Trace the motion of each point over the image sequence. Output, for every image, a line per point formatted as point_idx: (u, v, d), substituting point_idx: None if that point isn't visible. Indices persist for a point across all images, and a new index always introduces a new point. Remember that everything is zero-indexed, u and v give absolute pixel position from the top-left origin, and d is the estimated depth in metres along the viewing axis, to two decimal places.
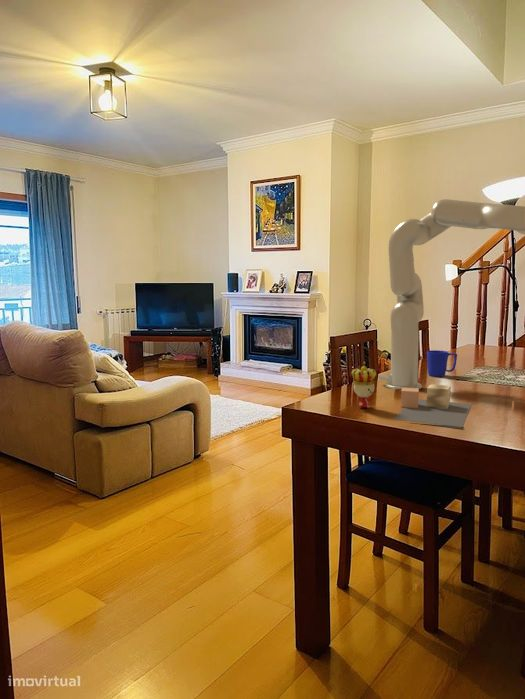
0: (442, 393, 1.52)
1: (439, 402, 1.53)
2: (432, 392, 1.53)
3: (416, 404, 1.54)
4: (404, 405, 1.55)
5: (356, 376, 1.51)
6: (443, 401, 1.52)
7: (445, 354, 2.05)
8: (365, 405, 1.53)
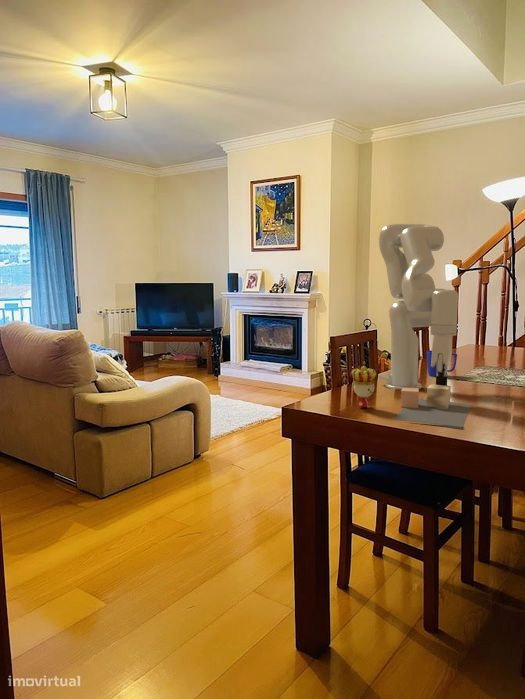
0: (442, 393, 1.52)
1: (439, 402, 1.53)
2: (432, 392, 1.53)
3: (416, 404, 1.54)
4: (404, 405, 1.55)
5: (356, 376, 1.51)
6: (443, 401, 1.52)
7: None
8: (365, 405, 1.53)
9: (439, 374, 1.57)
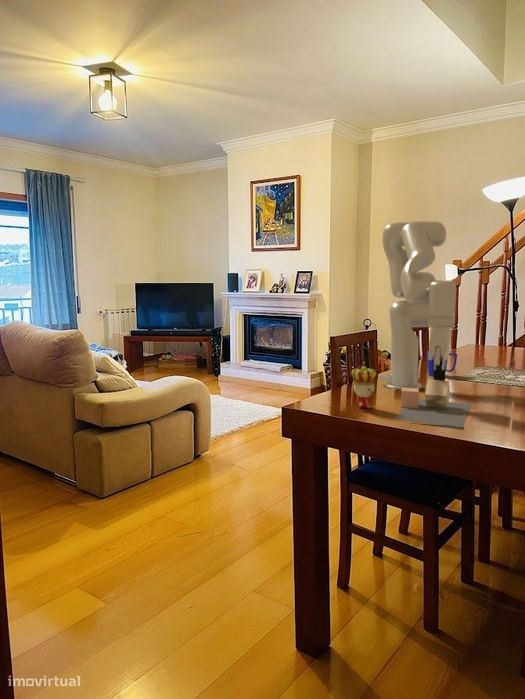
0: (441, 398, 1.50)
1: (438, 404, 1.52)
2: (430, 397, 1.51)
3: (416, 404, 1.54)
4: (404, 405, 1.55)
5: (356, 376, 1.51)
6: (442, 403, 1.51)
7: None
8: (365, 405, 1.53)
9: (437, 368, 1.53)
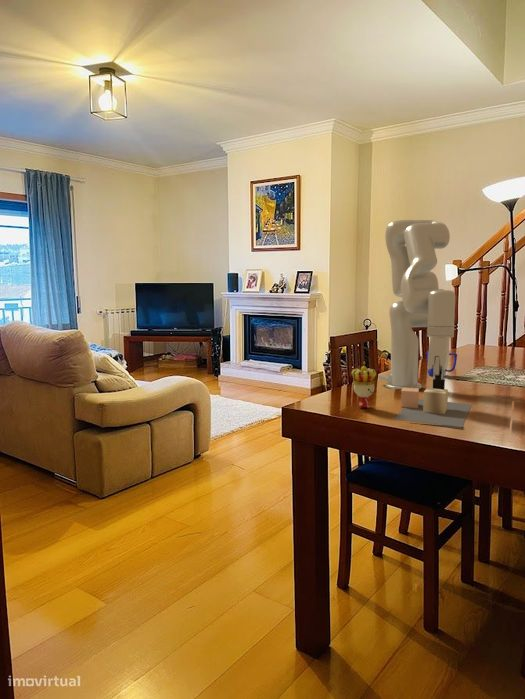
0: None
1: None
2: None
3: (416, 404, 1.54)
4: (404, 405, 1.55)
5: (356, 376, 1.51)
6: None
7: None
8: (365, 405, 1.53)
9: (436, 377, 1.52)
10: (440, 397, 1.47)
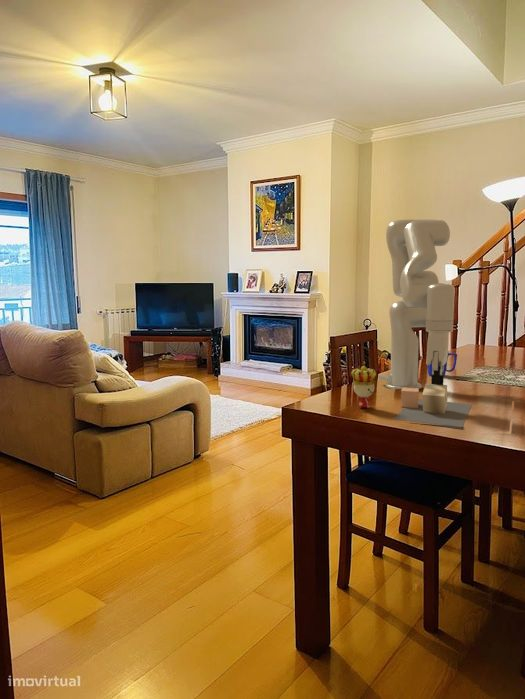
0: None
1: None
2: None
3: (416, 404, 1.54)
4: (404, 405, 1.55)
5: (356, 376, 1.51)
6: None
7: None
8: (365, 405, 1.53)
9: (435, 373, 1.49)
10: (439, 399, 1.45)
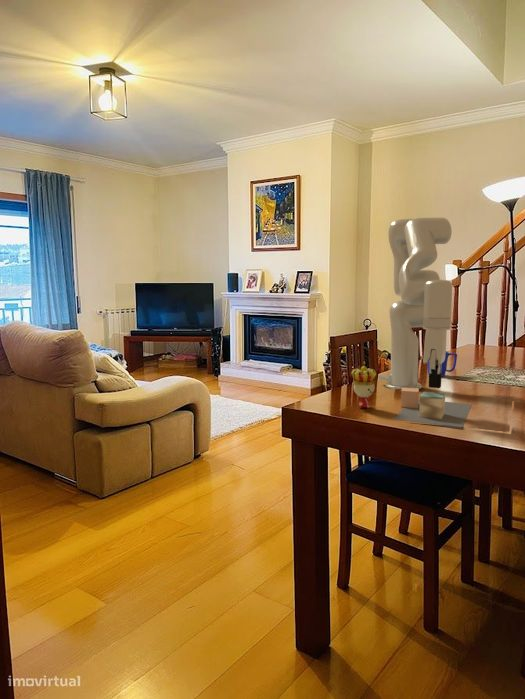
0: None
1: None
2: None
3: (416, 404, 1.54)
4: (404, 405, 1.55)
5: (356, 376, 1.51)
6: None
7: None
8: (365, 405, 1.53)
9: (432, 371, 1.45)
10: None
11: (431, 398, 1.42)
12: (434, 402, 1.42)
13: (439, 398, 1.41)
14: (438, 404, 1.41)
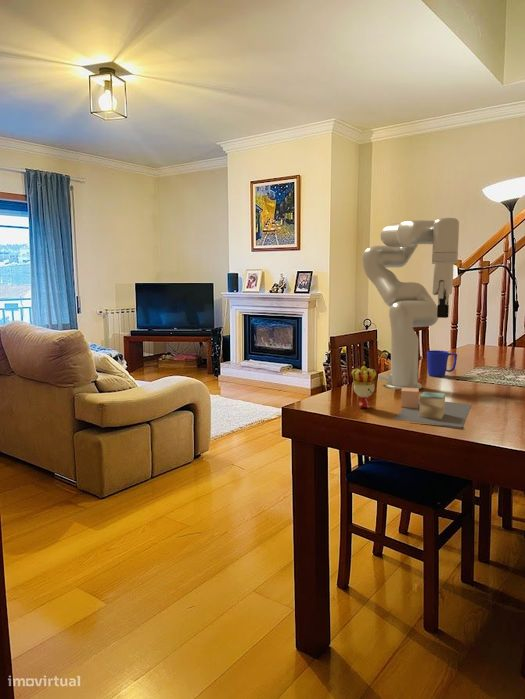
0: None
1: None
2: None
3: (416, 404, 1.54)
4: (404, 405, 1.55)
5: (356, 376, 1.51)
6: None
7: (445, 354, 2.05)
8: (365, 405, 1.53)
9: (440, 302, 1.59)
10: None
11: (431, 398, 1.42)
12: (434, 402, 1.42)
13: (439, 398, 1.41)
14: (438, 404, 1.41)
